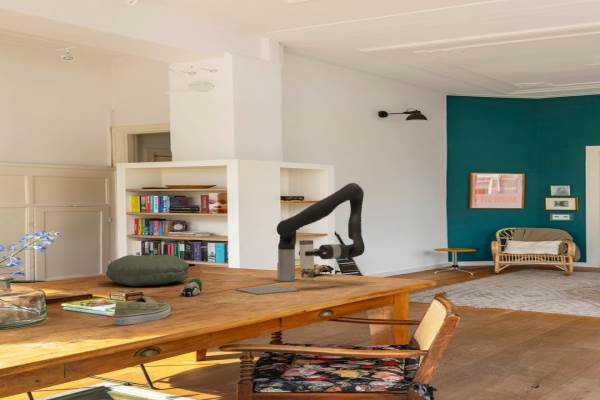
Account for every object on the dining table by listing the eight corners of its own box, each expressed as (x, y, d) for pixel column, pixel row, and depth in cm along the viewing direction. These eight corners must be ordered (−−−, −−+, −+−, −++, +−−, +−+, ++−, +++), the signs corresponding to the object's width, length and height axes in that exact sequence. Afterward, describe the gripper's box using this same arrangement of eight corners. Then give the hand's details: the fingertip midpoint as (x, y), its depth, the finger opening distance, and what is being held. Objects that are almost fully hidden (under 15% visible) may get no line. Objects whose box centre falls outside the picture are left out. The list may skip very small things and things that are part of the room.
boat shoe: (177, 315, 286) (178, 292, 285) (131, 327, 259) (131, 302, 259) (155, 313, 290) (156, 291, 290) (108, 325, 264) (108, 300, 264)
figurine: (322, 280, 413) (340, 272, 440) (322, 270, 412) (340, 262, 440) (292, 279, 420) (311, 271, 448) (291, 268, 420) (311, 261, 447)
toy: (195, 303, 337) (208, 290, 351) (194, 288, 335) (206, 276, 349) (178, 302, 339) (191, 290, 353) (176, 288, 337) (189, 276, 351)
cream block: (300, 268, 367) (299, 240, 367) (308, 267, 370) (307, 240, 370) (305, 269, 363) (304, 240, 363) (314, 268, 366) (313, 240, 366)
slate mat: (235, 290, 361) (235, 289, 361) (276, 286, 375) (276, 285, 375) (257, 294, 345) (257, 293, 345) (299, 291, 359) (299, 290, 359)
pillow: (94, 283, 390) (131, 291, 359) (94, 255, 389) (132, 261, 359) (165, 277, 418) (205, 284, 387) (165, 251, 418) (205, 256, 387)
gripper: (321, 244, 381) (293, 245, 371) (338, 244, 369) (310, 246, 359) (321, 258, 380) (294, 260, 371) (338, 259, 369) (310, 261, 359)
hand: (302, 253), depth 365 cm, fingers closed on cream block, 5 cm apart
